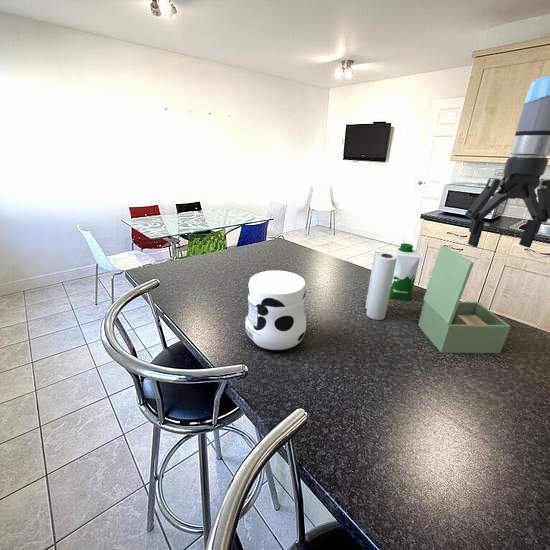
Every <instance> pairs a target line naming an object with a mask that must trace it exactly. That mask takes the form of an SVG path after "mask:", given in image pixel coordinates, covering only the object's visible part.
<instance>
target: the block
mask: <svg viewBox="0 0 550 550" xmlns="http://www.w3.org/2000/svg"><path fill="white" fill-rule="evenodd" d="M455 324H464V325H487V324H486V323H485V322H483V321H482V320H481V319H480V318H478V317H477V316H476V315H457V318H456V321H455Z"/></svg>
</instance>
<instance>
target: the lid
mask: <svg viewBox="0 0 550 550" xmlns="http://www.w3.org/2000/svg"><path fill="white" fill-rule="evenodd" d="M474 264H475V263H474V262H473V261H471V260H470V259H468V258H466V257H465V256H462V255H461V254H459V253H457V252H455V251H454V250H452V249H450V248H449V247H447V246H446V245H444V244H443V245H442V244H441V245H440V246H439V249H438V252H437V255H436V258H435V262H434V265H433V268H432V272H431V274H430V278H429V281H428V283H427V286H426V289H425V293H424V296H423V302H424V301H425V302H426V303H427V304H428V305H429V306H430V307H431V308H432V309H433V310H434V311H435V312H436V313H437V314H439V315H440V316H441V317H442V318H443V319H444V320H445V321H446V322H447V323H448V324H451V323H452V320H453V318H454V315H455V312H456V310H457V307H458V304H459V302H460V301H461V299H462V297H463V294H464V291H465V288H466V285H467V282H468V280H469V278H470V275H471V273H472V270H473V267H474Z"/></svg>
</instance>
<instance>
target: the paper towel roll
mask: <svg viewBox="0 0 550 550" xmlns="http://www.w3.org/2000/svg"><path fill="white" fill-rule="evenodd" d="M396 261H397V257H396V256H395V255H393V253H390V252H389V253H388V252H382V251H377V250H374V254H373V259H372V265H371V271H370V277H369V284H368V288H367V295H366V301H365V307H364V308H365V310H366V314H365V315H366V316H367V318H370V319H372V320H376V321H381V320H384V319H385V318H386V315H387V314H386V313H387V310H388V304H389V300H390V298H389V295H390V290H391V285H392V280H393V275H394V270H395V265H396Z"/></svg>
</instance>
